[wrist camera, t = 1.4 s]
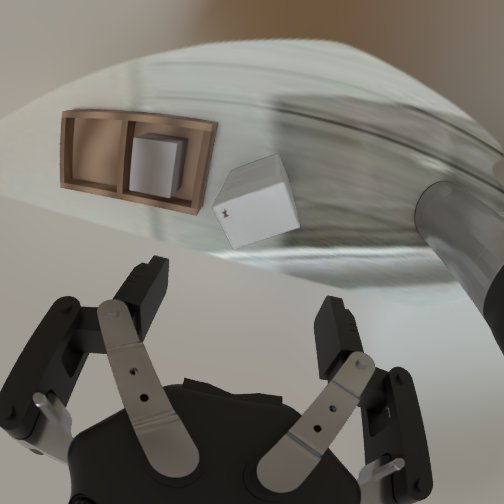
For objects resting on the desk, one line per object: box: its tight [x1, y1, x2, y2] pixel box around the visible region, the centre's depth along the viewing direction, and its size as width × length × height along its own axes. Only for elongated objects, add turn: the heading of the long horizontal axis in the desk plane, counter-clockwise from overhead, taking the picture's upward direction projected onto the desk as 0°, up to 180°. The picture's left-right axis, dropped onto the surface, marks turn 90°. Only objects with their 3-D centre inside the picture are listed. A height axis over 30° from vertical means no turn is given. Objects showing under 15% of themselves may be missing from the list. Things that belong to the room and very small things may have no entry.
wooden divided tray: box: [60, 109, 218, 216], centre depth 29 cm, size 20×11×5 cm, turn 77°
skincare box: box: [212, 154, 300, 249], centre depth 26 cm, size 6×4×12 cm
